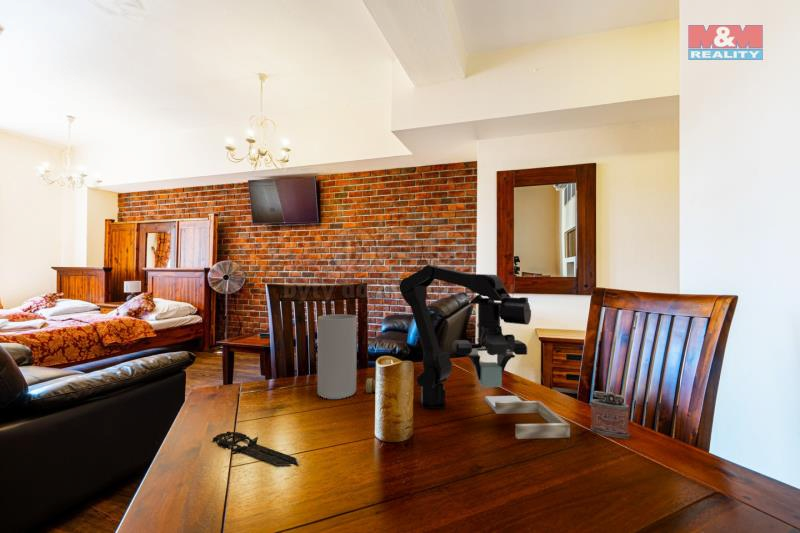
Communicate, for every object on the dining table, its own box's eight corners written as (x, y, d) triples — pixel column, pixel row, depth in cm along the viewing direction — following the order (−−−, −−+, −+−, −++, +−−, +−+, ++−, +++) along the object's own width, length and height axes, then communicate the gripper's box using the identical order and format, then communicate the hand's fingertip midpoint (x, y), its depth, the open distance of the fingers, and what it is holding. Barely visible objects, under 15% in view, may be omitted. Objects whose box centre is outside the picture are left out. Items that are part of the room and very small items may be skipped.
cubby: (517, 438, 78) (517, 426, 78) (495, 412, 93) (495, 401, 93) (570, 437, 79) (569, 424, 79) (539, 411, 94) (539, 400, 94)
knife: (304, 465, 68) (304, 458, 68) (277, 481, 63) (277, 473, 63) (235, 432, 82) (235, 426, 82) (208, 443, 77) (208, 437, 77)
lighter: (627, 433, 81) (627, 392, 81) (630, 440, 78) (630, 397, 78) (590, 427, 84) (589, 388, 85) (591, 433, 81) (591, 392, 82)
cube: (482, 386, 85) (482, 367, 86) (477, 380, 90) (477, 362, 90) (501, 386, 86) (501, 367, 86) (495, 380, 91) (495, 362, 91)
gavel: (375, 366, 129) (401, 367, 128) (375, 378, 128) (400, 379, 127) (365, 380, 108) (396, 381, 107) (365, 394, 107) (396, 395, 107)
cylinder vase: (337, 384, 117) (338, 313, 117) (364, 391, 110) (364, 316, 110) (309, 394, 107) (310, 317, 107) (336, 403, 99) (336, 320, 100)
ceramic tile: (494, 410, 94) (494, 406, 94) (485, 400, 102) (485, 396, 102) (528, 410, 95) (528, 406, 95) (516, 399, 103) (516, 395, 103)
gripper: (461, 325, 80) (461, 390, 80) (536, 325, 81) (536, 389, 80) (452, 319, 91) (452, 376, 91) (518, 319, 92) (518, 375, 92)
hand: (489, 379), depth 88 cm, fingers closed on cube, 5 cm apart
